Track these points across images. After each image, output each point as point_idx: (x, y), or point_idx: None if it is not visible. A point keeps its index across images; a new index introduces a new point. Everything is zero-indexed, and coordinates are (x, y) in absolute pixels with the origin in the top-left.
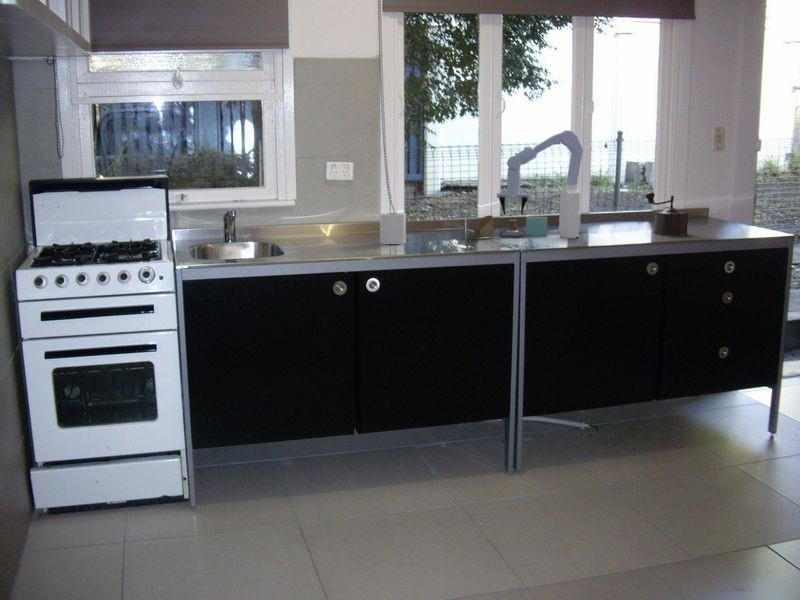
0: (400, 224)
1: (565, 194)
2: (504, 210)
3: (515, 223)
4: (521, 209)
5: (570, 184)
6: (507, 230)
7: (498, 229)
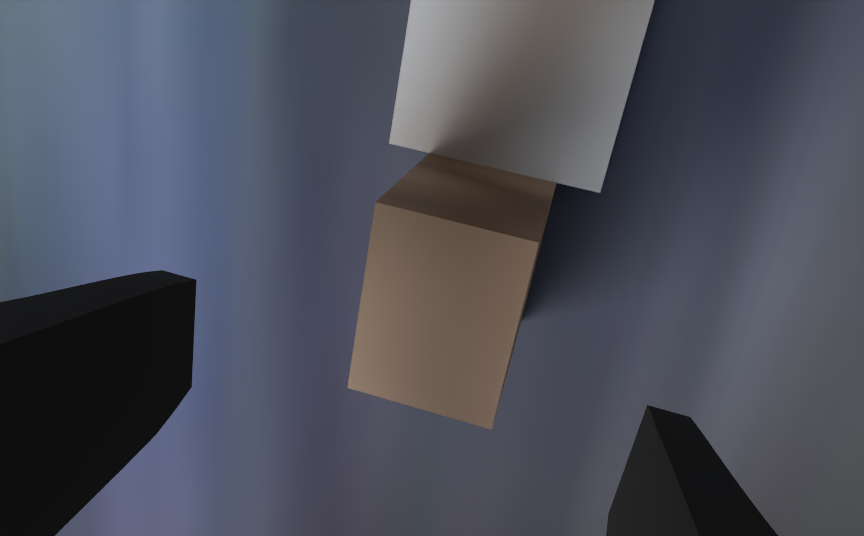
0: None
1: None
2: (684, 467)
3: (410, 191)
4: (81, 313)
5: None
6: (605, 133)
7: None
